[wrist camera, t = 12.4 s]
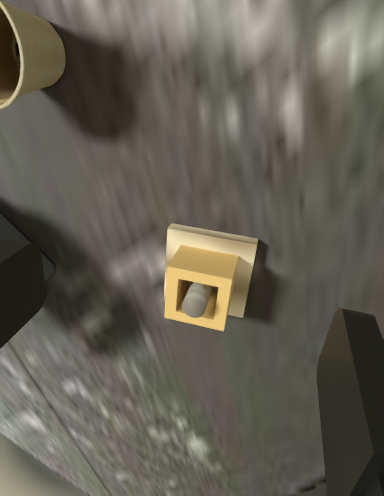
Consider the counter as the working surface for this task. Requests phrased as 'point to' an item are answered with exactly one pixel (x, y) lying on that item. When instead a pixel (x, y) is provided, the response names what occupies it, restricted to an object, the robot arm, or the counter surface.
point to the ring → (205, 272)
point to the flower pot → (27, 54)
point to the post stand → (217, 242)
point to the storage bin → (5, 230)
